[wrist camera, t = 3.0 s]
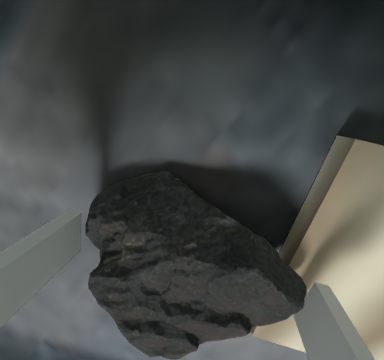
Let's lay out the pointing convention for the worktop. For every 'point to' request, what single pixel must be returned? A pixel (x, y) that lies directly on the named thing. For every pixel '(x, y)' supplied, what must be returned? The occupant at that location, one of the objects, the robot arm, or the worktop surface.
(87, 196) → the worktop surface
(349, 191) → the board
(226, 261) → the rock
